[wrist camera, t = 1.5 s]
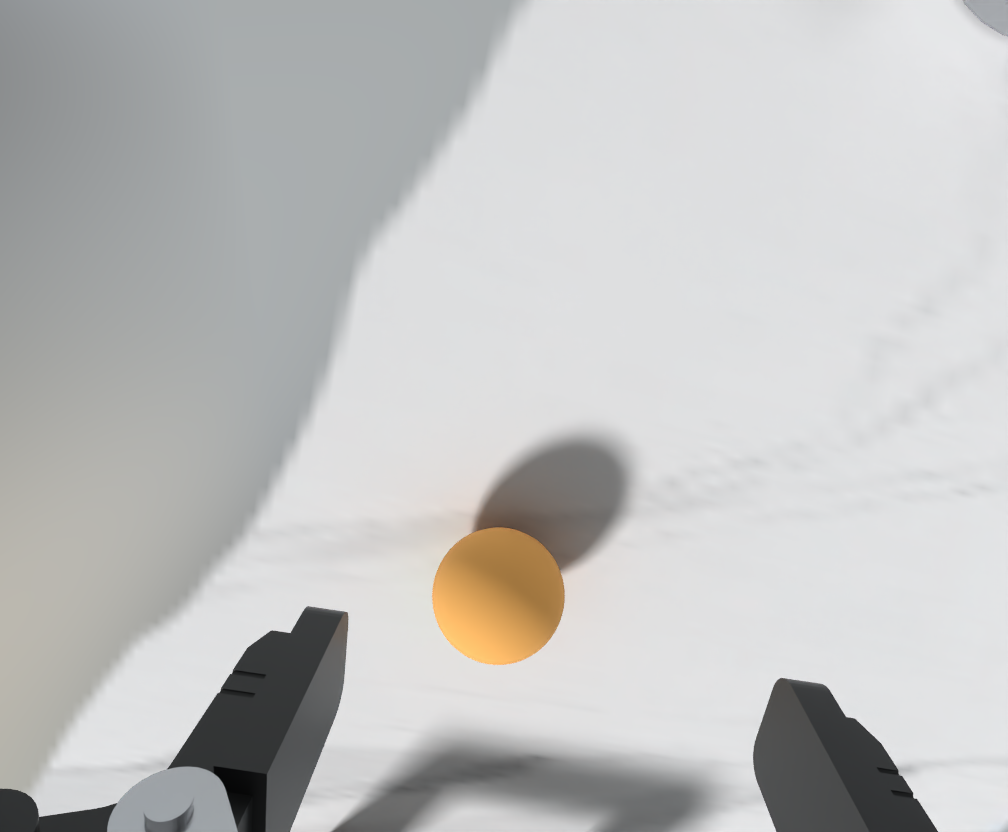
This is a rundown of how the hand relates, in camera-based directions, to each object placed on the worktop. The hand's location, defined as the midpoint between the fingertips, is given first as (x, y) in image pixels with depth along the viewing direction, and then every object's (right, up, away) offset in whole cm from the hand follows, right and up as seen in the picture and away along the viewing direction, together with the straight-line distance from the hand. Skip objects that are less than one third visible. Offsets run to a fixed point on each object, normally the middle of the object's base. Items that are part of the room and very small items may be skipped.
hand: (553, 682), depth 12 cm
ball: (-1, -3, +17) cm, 17 cm away
